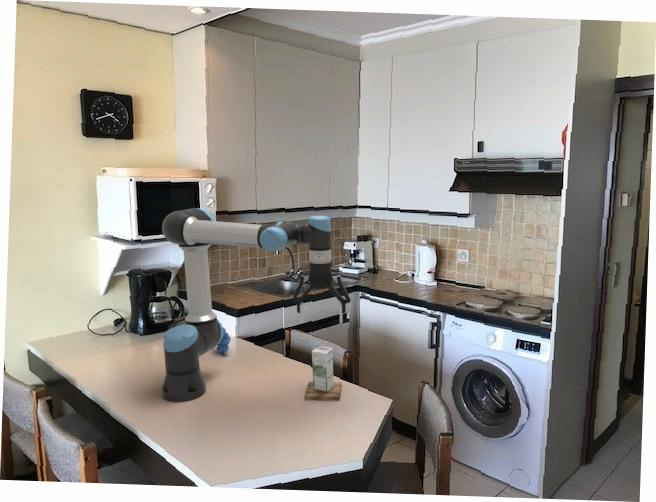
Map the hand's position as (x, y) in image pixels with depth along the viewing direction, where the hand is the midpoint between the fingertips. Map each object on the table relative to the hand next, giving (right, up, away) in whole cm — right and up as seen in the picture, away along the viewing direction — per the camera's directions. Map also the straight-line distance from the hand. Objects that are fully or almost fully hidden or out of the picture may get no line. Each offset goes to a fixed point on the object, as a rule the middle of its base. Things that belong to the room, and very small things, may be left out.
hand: (321, 322), depth 180 cm
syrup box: (+1, -24, +4) cm, 24 cm away
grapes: (-43, -20, +46) cm, 66 cm away
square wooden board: (+1, -26, +4) cm, 26 cm away
